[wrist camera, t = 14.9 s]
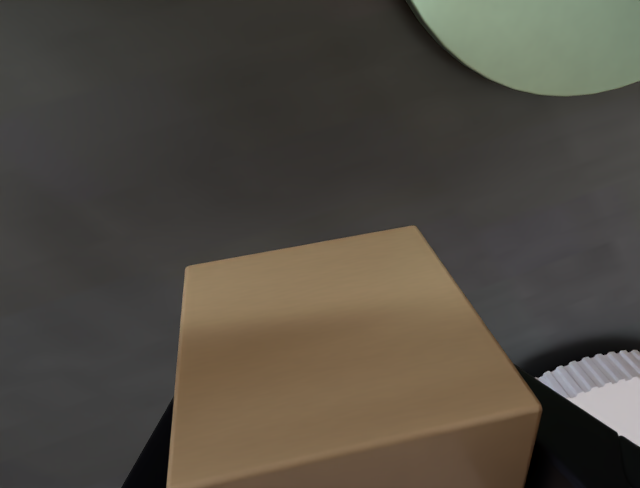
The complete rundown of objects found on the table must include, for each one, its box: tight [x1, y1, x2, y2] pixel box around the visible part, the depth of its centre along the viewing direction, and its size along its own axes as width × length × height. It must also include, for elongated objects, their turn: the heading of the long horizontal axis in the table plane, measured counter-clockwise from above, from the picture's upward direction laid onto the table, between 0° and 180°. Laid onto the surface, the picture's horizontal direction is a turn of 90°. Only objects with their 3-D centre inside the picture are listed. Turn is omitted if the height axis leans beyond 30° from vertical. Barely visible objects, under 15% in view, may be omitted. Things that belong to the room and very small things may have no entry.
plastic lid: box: [535, 350, 640, 447], centre depth 26 cm, size 14×14×2 cm
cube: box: [166, 225, 542, 488], centre depth 8 cm, size 4×4×4 cm
